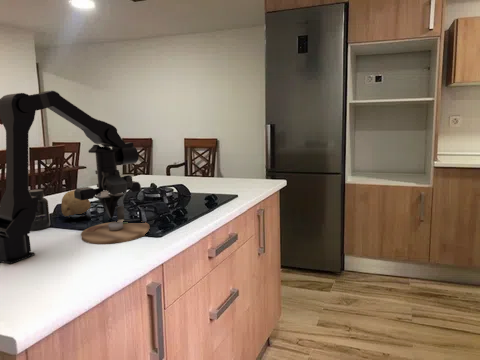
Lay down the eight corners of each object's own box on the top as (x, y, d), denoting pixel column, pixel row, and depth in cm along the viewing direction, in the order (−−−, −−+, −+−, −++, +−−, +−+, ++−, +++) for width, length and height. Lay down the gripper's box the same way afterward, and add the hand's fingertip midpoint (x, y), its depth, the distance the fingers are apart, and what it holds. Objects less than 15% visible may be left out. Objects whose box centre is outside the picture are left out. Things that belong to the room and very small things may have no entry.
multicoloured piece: (121, 229, 108) (120, 213, 108) (107, 230, 108) (105, 214, 107) (128, 220, 119) (127, 205, 118) (115, 221, 118) (114, 206, 117)
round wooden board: (121, 246, 98) (120, 241, 98) (66, 240, 105) (65, 235, 105) (162, 226, 116) (162, 222, 115) (112, 222, 123) (112, 218, 123)
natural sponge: (95, 215, 133) (93, 187, 132) (85, 222, 125) (82, 192, 123) (70, 216, 134) (67, 188, 132) (58, 223, 125) (54, 193, 123)
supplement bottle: (40, 231, 116) (35, 192, 114) (21, 230, 117) (16, 192, 115) (55, 225, 122) (51, 188, 120) (37, 224, 124) (32, 188, 122)
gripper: (86, 172, 101) (91, 228, 104) (148, 165, 114) (151, 216, 116) (71, 169, 110) (76, 222, 112) (130, 163, 122) (134, 210, 124)
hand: (111, 217), depth 116 cm, fingers closed
